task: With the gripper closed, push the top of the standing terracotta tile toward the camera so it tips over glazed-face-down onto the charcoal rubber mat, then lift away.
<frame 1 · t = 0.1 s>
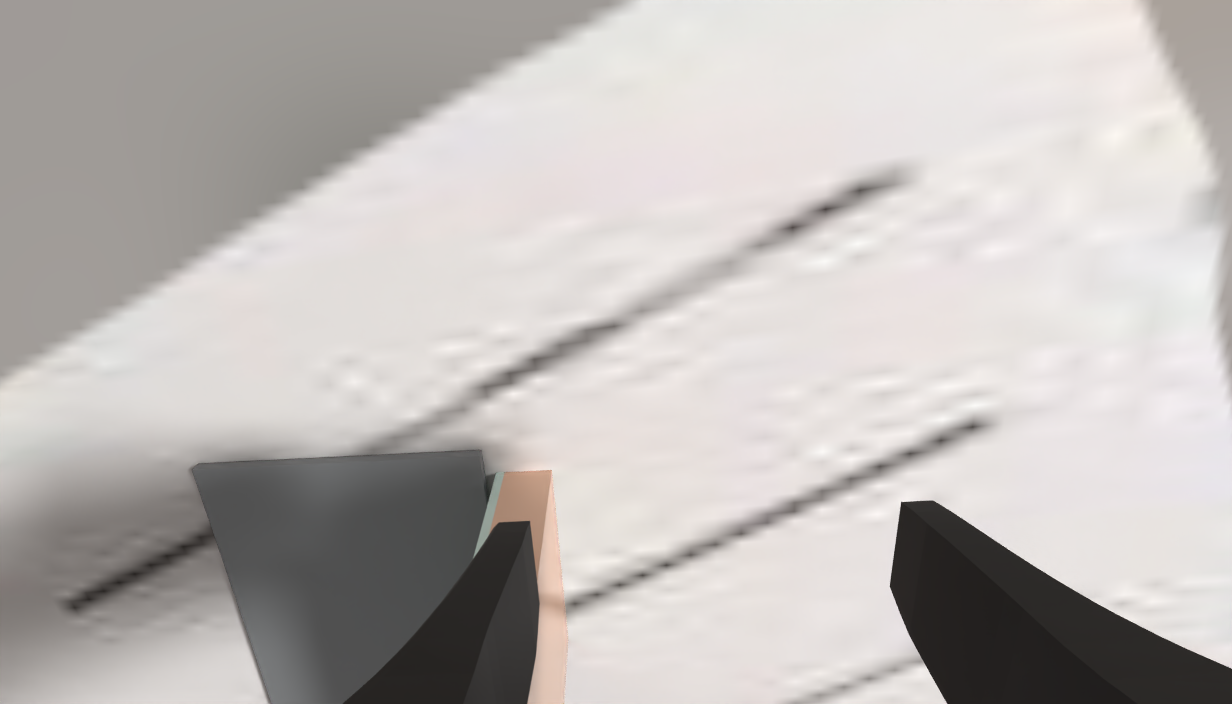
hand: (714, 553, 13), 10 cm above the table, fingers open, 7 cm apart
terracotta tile: (534, 560, 26), on the table
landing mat: (371, 590, 26), on the table
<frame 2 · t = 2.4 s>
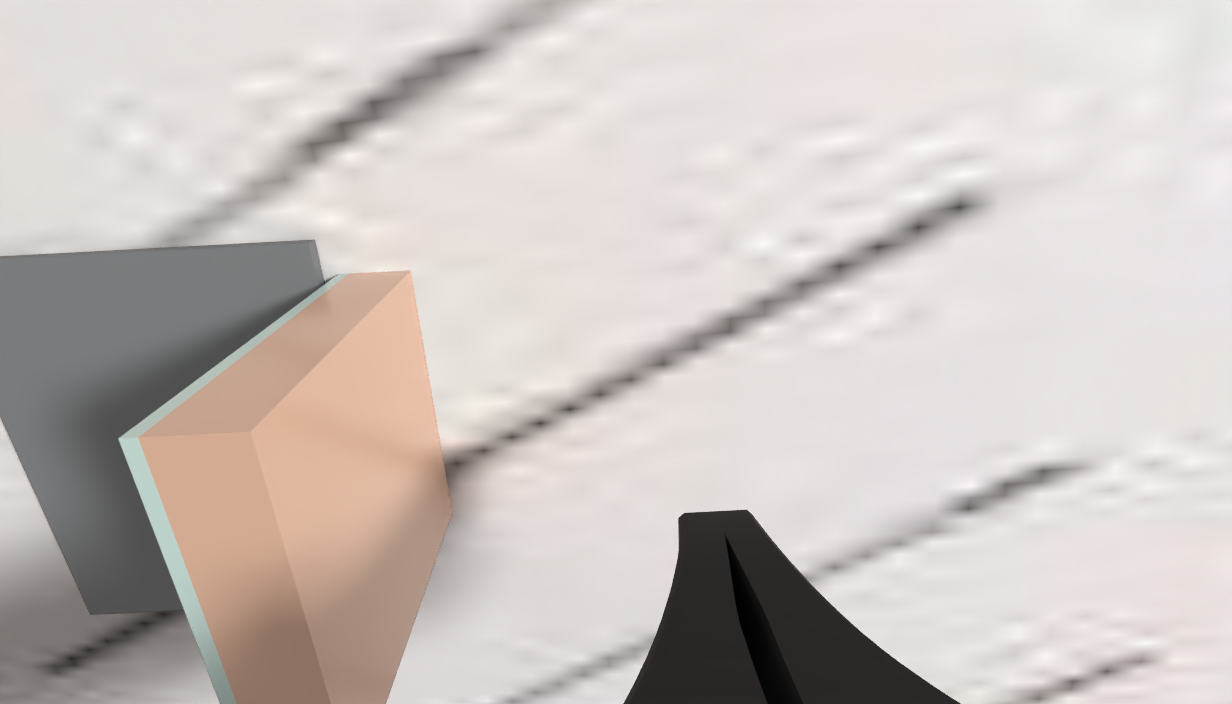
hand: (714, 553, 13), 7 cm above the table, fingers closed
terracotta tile: (399, 402, 20), on the table
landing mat: (194, 443, 20), on the table
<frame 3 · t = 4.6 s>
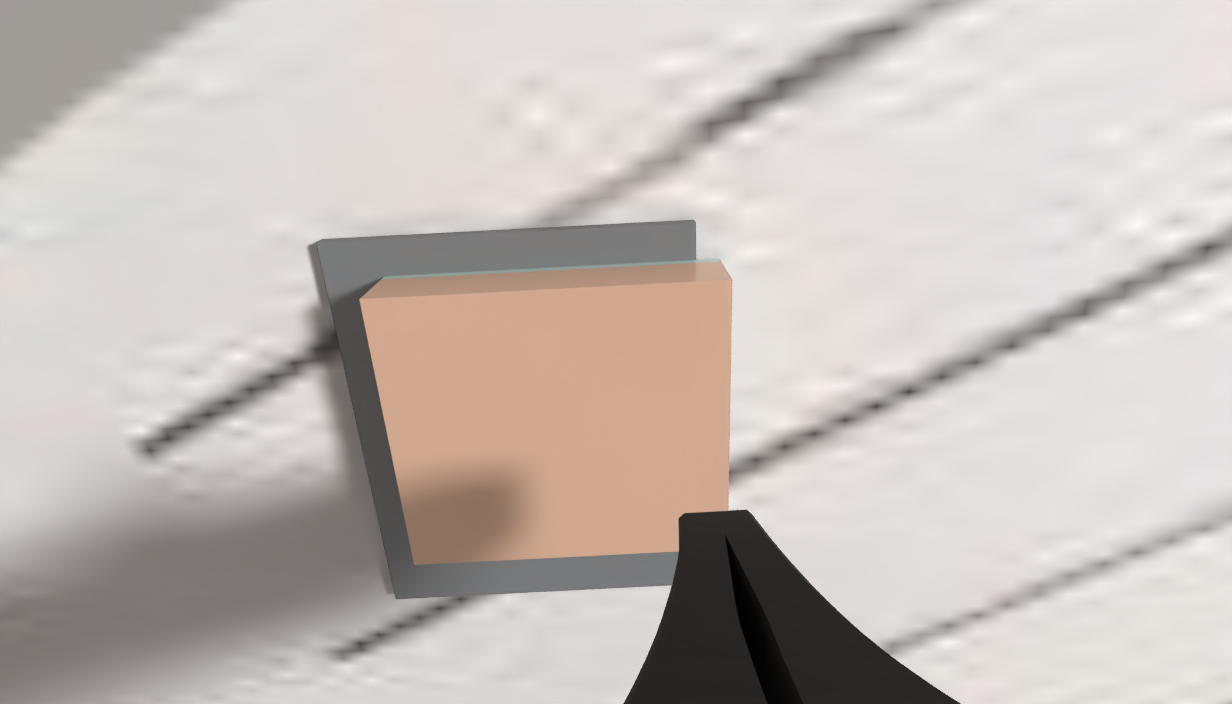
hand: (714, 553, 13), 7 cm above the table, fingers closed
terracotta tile: (723, 408, 19), point 1 cm above the table, tilted 90°, touching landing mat
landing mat: (529, 426, 20), on the table
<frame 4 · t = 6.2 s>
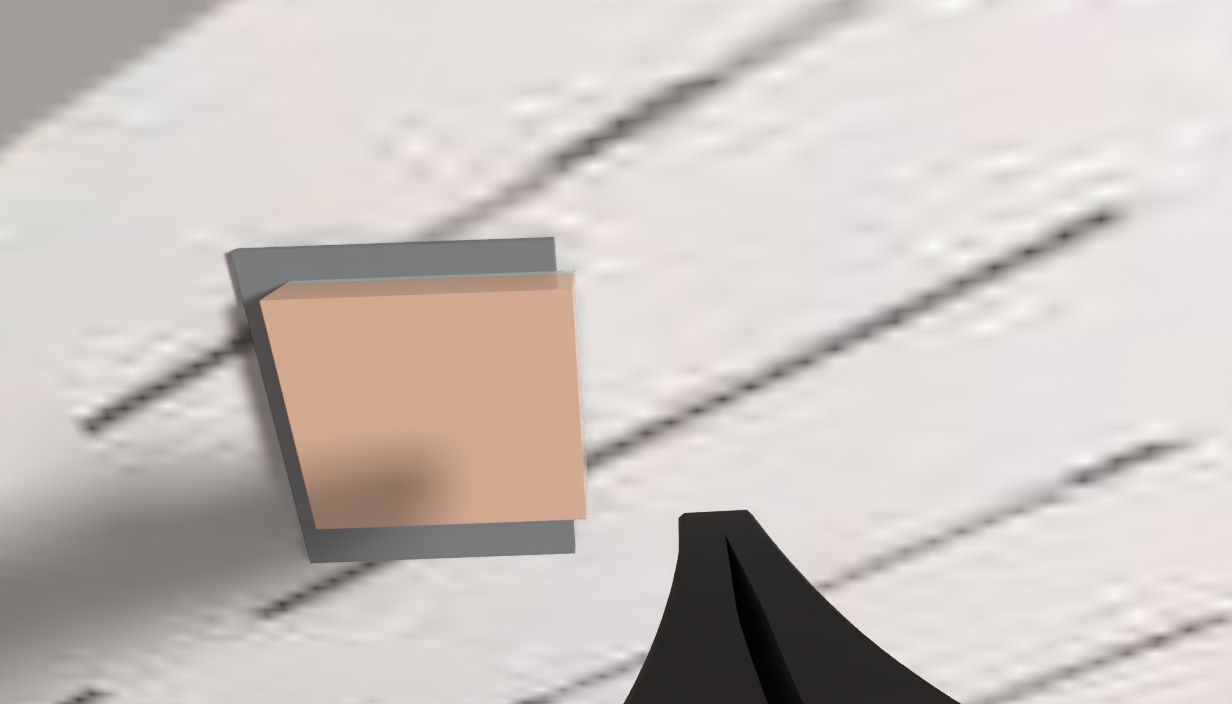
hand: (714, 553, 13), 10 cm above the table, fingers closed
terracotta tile: (580, 398, 22), point 1 cm above the table, tilted 90°, touching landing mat
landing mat: (422, 412, 23), on the table
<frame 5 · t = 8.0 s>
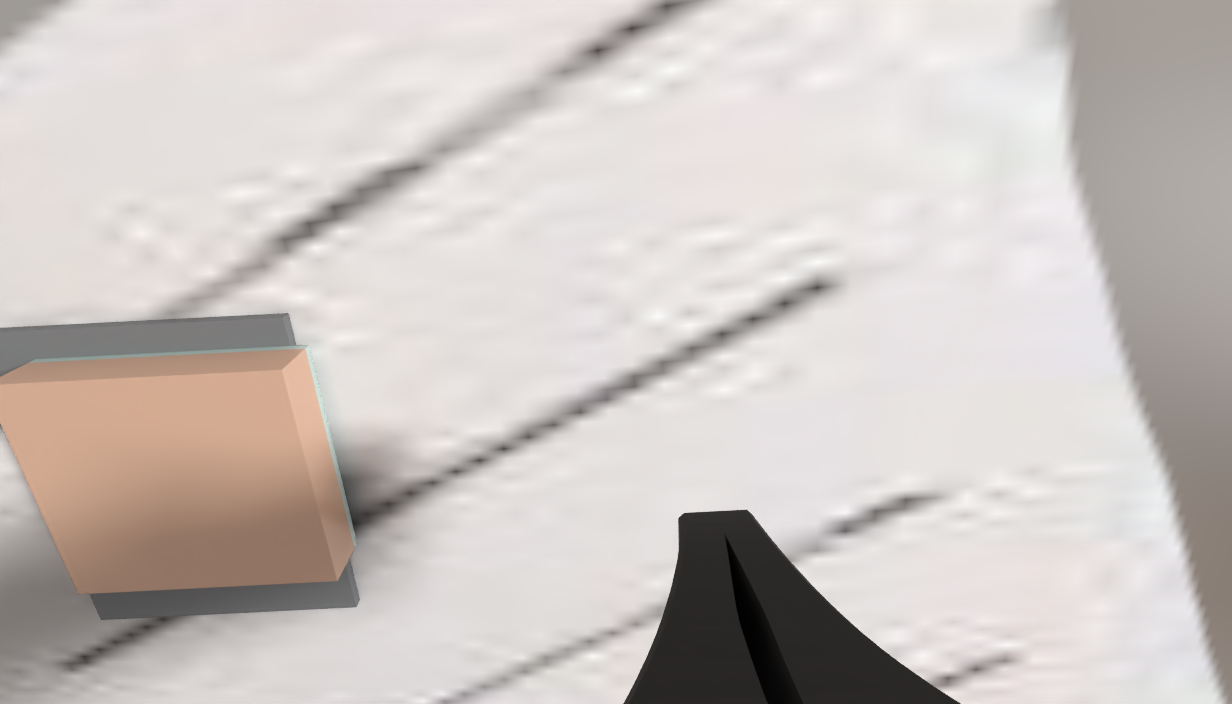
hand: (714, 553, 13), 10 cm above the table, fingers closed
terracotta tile: (323, 466, 22), point 1 cm above the table, tilted 90°, touching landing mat
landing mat: (189, 477, 24), on the table
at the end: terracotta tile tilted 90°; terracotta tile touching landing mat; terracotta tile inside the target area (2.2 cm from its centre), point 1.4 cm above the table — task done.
